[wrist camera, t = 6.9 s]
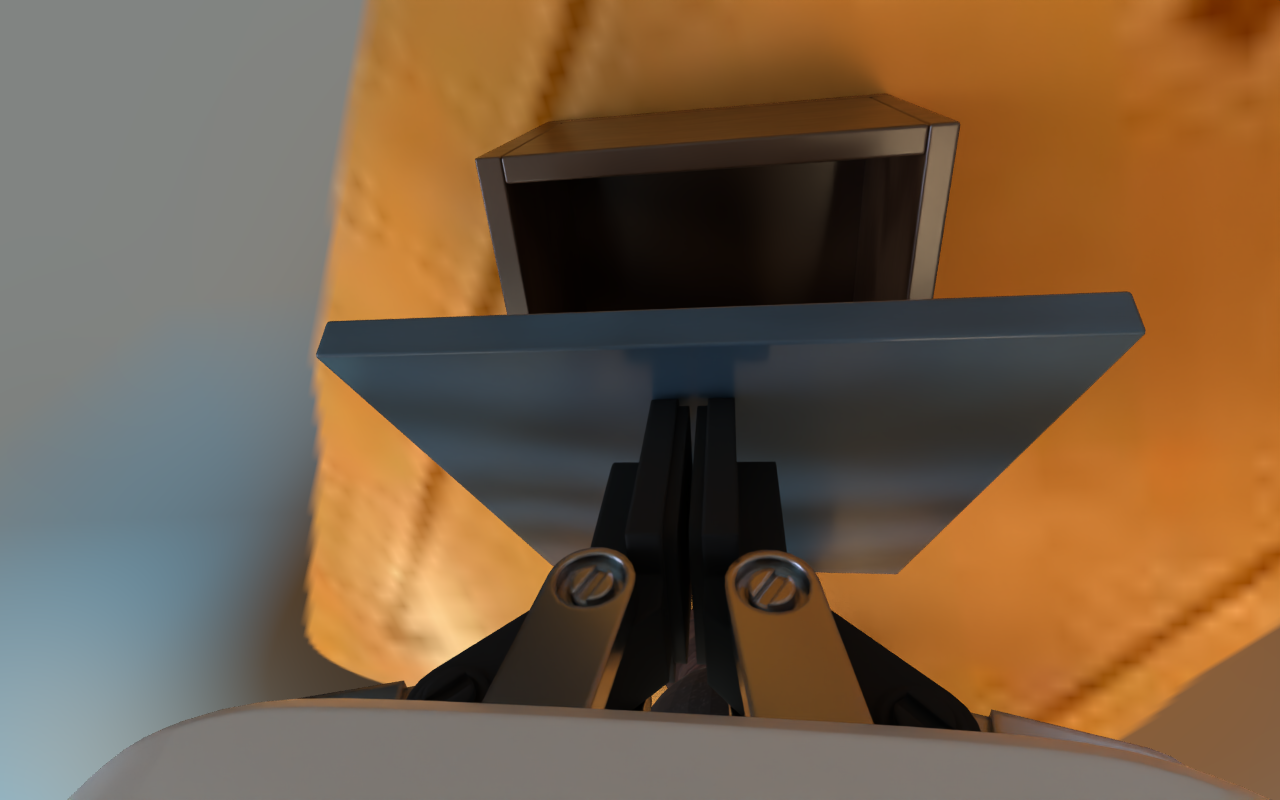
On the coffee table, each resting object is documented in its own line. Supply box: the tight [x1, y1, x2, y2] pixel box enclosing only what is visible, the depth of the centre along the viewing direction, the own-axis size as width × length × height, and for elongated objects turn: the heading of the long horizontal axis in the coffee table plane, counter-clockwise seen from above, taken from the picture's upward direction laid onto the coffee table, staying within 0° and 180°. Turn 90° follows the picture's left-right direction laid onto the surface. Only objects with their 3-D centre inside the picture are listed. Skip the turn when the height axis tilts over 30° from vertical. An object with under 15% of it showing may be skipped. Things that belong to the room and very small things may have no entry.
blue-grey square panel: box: [316, 292, 1145, 574], centre depth 18 cm, size 16×14×1 cm
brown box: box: [475, 93, 960, 315], centre depth 25 cm, size 16×14×9 cm
